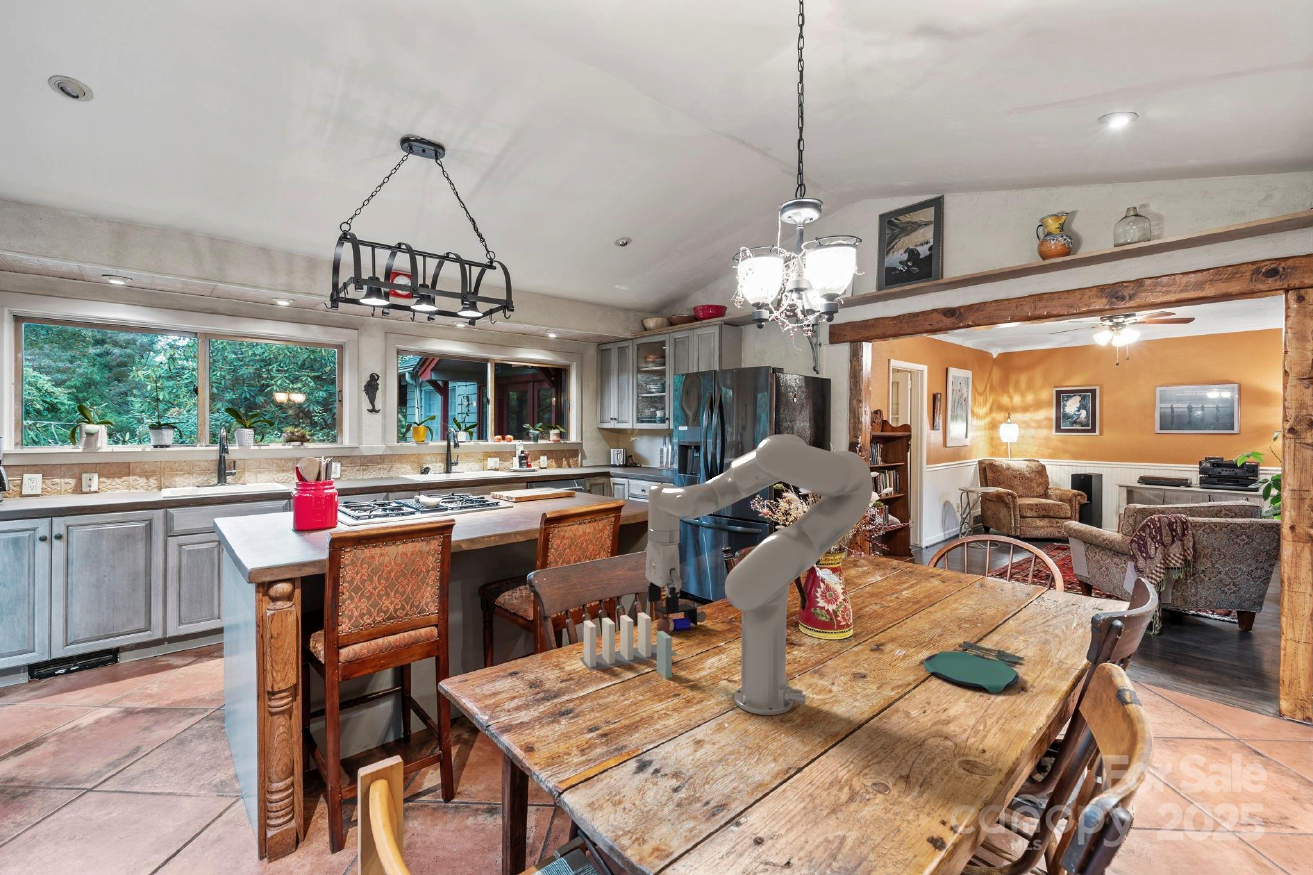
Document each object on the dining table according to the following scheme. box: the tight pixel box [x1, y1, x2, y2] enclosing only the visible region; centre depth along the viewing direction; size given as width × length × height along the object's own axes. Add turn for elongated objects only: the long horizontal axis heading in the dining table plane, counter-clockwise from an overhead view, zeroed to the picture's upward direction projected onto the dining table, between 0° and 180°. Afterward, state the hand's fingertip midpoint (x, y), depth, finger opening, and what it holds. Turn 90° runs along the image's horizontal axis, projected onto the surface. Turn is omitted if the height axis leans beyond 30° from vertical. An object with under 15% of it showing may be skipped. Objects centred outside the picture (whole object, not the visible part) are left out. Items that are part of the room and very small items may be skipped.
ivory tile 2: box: [619, 614, 634, 661], centre depth 150 cm, size 2×5×10 cm, turn 25°
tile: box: [656, 630, 673, 680], centre depth 139 cm, size 2×5×10 cm, turn 25°
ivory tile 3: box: [601, 617, 616, 664], centre depth 148 cm, size 2×5×10 cm, turn 25°
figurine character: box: [653, 603, 707, 635], centre depth 171 cm, size 7×8×15 cm
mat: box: [578, 643, 678, 672], centre depth 150 cm, size 24×9×1 cm, turn 115°
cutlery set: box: [923, 640, 1025, 694], centre depth 144 cm, size 20×30×2 cm, turn 133°
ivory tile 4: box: [583, 620, 597, 667], centre depth 146 cm, size 2×5×10 cm, turn 25°
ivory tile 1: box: [637, 612, 652, 657], centre depth 152 cm, size 2×5×10 cm, turn 25°
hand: (662, 606), depth 139 cm, fingers open, 9 cm apart
